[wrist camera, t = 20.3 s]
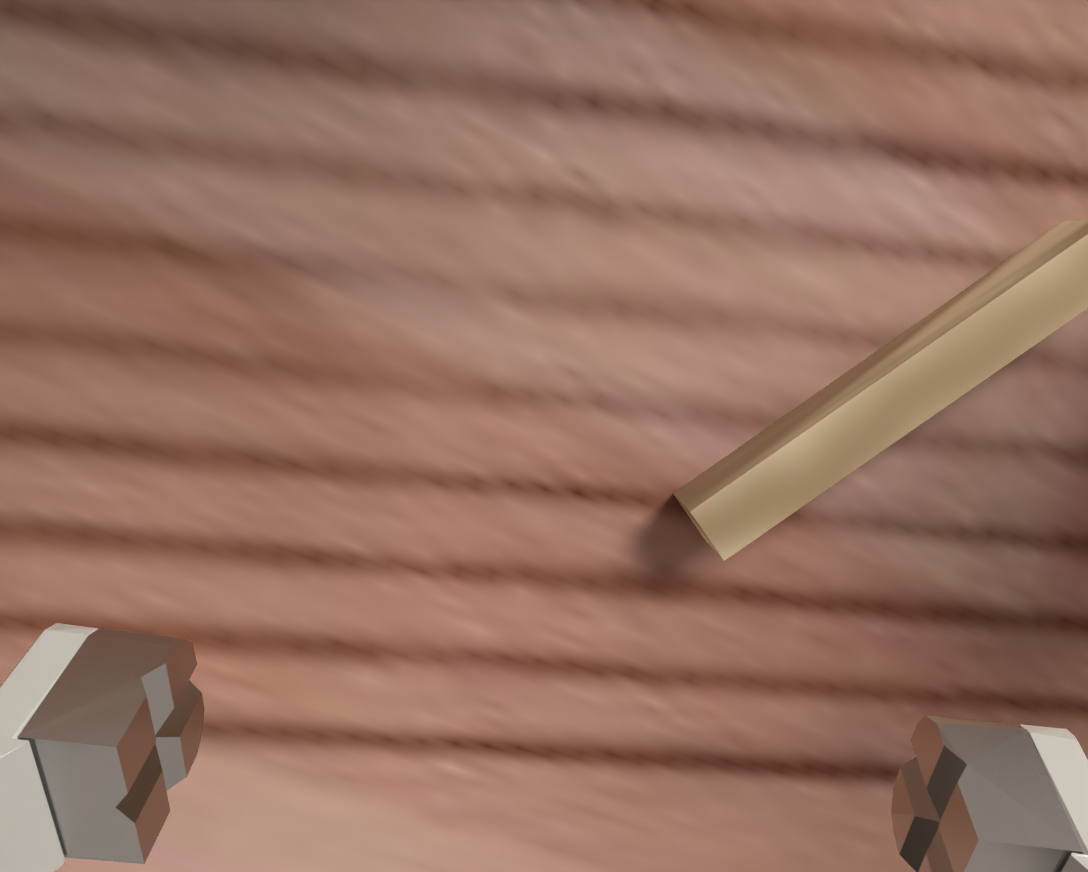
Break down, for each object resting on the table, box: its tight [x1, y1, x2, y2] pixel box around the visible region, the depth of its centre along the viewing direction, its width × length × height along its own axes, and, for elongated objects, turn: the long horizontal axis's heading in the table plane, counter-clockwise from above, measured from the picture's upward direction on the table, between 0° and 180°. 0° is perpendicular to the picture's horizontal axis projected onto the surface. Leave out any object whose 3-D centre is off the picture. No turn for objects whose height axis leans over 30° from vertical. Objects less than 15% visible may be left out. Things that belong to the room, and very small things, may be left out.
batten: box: [673, 220, 1088, 561], centre depth 38 cm, size 2×19×3 cm, turn 125°
